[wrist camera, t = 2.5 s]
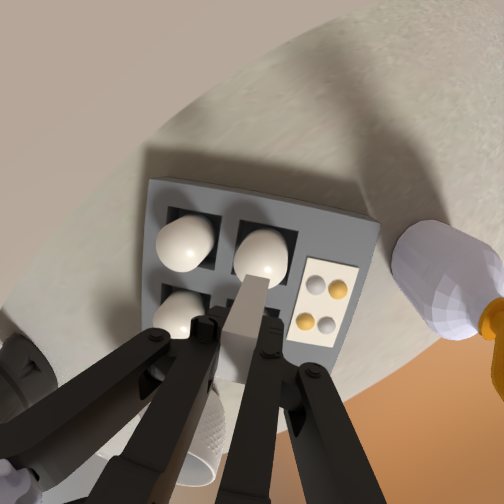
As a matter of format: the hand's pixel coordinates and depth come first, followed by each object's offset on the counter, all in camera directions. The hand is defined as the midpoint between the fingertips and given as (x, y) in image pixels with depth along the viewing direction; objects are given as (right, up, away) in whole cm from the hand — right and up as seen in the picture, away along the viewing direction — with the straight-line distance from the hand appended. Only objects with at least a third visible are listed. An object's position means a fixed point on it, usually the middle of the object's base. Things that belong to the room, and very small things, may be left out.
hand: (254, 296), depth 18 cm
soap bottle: (+19, +2, +11) cm, 22 cm away
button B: (-6, +4, +11) cm, 13 cm away
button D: (+1, +3, +10) cm, 11 cm away
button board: (0, 0, +14) cm, 14 cm away
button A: (-7, -3, +13) cm, 15 cm away
